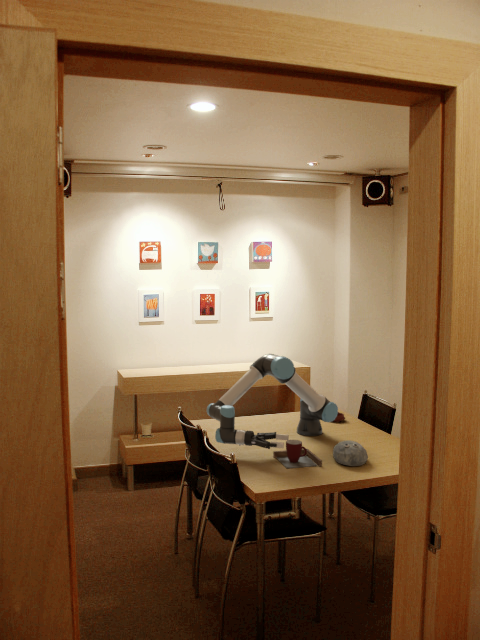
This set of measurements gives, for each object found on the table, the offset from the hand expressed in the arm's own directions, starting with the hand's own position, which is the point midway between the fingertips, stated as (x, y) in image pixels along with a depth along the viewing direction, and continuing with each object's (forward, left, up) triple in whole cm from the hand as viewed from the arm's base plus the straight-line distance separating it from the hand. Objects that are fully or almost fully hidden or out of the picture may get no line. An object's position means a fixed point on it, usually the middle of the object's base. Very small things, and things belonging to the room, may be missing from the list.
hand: (286, 441), depth 278 cm
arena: (-5, +3, -10) cm, 11 cm away
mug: (-4, +3, -10) cm, 11 cm away
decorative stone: (-32, +8, -10) cm, 34 cm away
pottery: (-59, -69, -10) cm, 92 cm away
